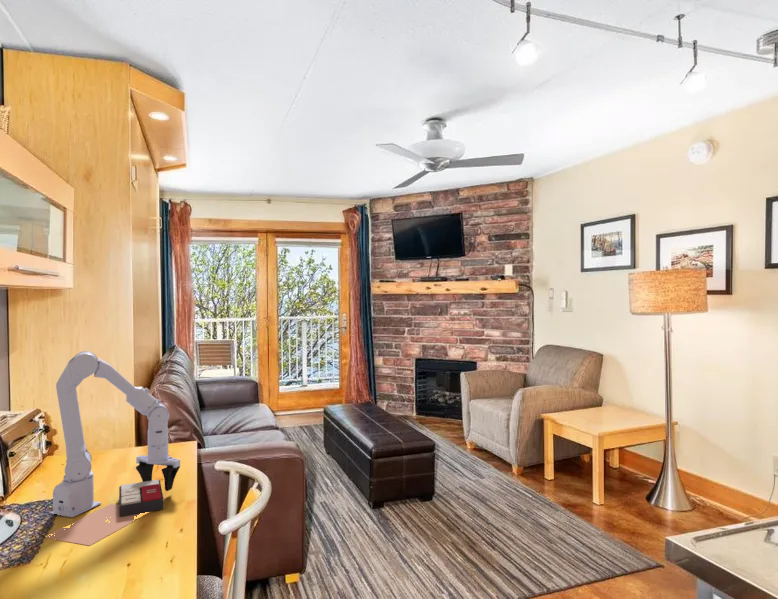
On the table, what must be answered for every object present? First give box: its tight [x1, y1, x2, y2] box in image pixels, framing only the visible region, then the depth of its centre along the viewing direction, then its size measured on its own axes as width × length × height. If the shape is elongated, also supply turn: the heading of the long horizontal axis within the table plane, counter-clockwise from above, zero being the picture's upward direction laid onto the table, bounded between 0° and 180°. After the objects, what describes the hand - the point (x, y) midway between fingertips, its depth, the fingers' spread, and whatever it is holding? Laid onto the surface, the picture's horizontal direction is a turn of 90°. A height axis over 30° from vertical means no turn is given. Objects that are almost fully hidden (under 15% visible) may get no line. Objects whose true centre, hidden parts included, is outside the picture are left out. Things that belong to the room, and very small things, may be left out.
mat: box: [45, 503, 139, 547], centre depth 133 cm, size 21×15×1 cm
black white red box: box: [118, 479, 164, 517], centre depth 145 cm, size 11×4×15 cm
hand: (158, 488), depth 152 cm, fingers open, 7 cm apart
